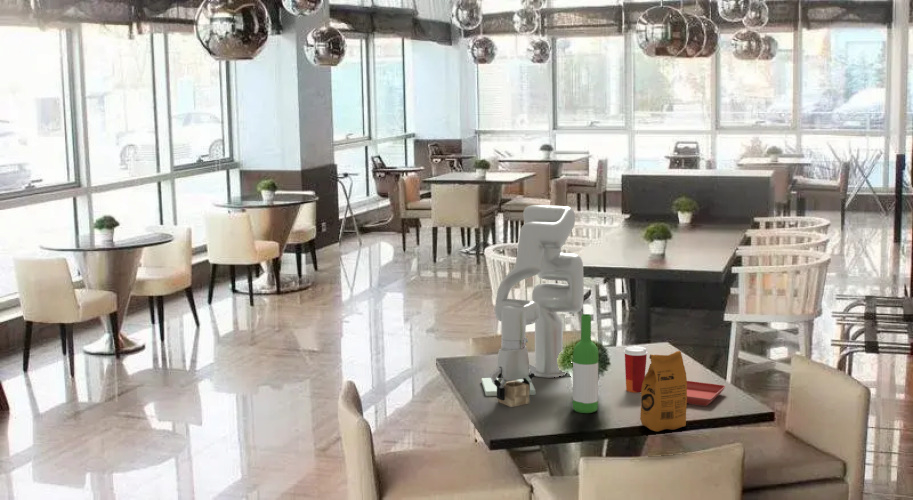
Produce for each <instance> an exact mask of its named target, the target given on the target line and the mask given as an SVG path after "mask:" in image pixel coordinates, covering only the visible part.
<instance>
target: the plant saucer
mask: <svg viewBox="0 0 913 500" xmlns="http://www.w3.org/2000/svg"><path fill="white" fill-rule="evenodd" d="M725 388H726V385H724V384H716V383H707V382H699V381H693V380H691V381H690V380H687V403H689V404H688V405H694V404H695V405H694V406H701V405H702V406H703V407H707V406H708V405H709V404H710V403H711V402H713V401H714V400H715V399H716V398H717V397H718V396H720V394H721V393H722V392H723V391H724V390H725Z"/></svg>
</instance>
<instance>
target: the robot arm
mask: <svg viewBox="0 0 913 500" xmlns="http://www.w3.org/2000/svg"><path fill="white" fill-rule="evenodd" d="M575 213H576V212H575V210H574V209H573V208H572V207H570V206H566V205H565V206H563V205H547V204H532V205H528V206H525V207H524V209H523V215H522V216H523V221H524V224H523V225H522V226H521V228H520V232H519V238H518V245H517V252H516V258H515V263H514V264H515V265H514V267H513V269H511V271H510V272H508V273H507V274H506V275H505V276H504V278H503V279H502V280H501V282H500V283H499V286H498V288H497V292H496V297H495V298H496V299H495V305H494V315H495V318H496V319H497V320H498V321H499V322H501V347H500V348H498V353H497V359H496V369H495V370H494V371H493V372H492V373H491V374H490V375H489V378H491V380H492V382H493V383H494V384H495V386H496V387H497V396H496V398H497V400H498V399H500V400H505V388H503V386H504V385H505V383H506V382H507V381H513V380H518V379H523V380H524V381H522V382H523V383H525V384H528V385H529V391H530V383H531V382H532V381H533V378H534V377H537V378H543V379H544V378H545V379H546V378H548V379H551V378H552V379H553V378H554V377H555V378H560V377H559V376H561V377H563V376H562V375H564V374H565V372H562V371H561V370H559V368H558V364H557V358H558V355H559V353H560V352H561V351H562V352H563V340H564V338H563V332H564V331H563V329H564V328H563V326H564V325H563V321H562V319H561V316H559V314H558V313H568V314H569V313H571V314H572V313H573V314H574V313H575V314H576V313H579V312H581V311H582V309H583V306H584V299H585V298H584V295H585V294H584V293H585V292H584V262H583V259H582V257H581V256H580V255H578V254H576V253H570V252H569V253H568V252H563V251H562V248H563V247H564V245H565V243H566V242H567V241H568V237H569V236H570V235H571V233H572V231H573V229H574V227H575V223H576V214H575ZM535 276H537V277H538V278H540V280H545V281H546V280H547V281H554V283H553V282H551V283H550V282H543V283H538V284H537V285H535V286H534V287H533V289H532V293H531V294H532V297H531V298H532V300H528V299H518V298H517V299H516V298H515V299H514V298H513V299H512V298H509V294H510V291H511V290H512V289H513V288H514V286H515V285H516V284H518V283H520V282H521V281H524V280H526V279H528V278H532V277H535ZM555 281H556V282H557V281H558V282H567V284H565V283H555ZM533 324H534V365H532V364H530V357H529V352H528V351H529V350H528V347H527V346H526V345H527V344H526V343H528V342H529V339H528V338H527V335H526V326H527V325H533ZM564 376H565V375H564ZM497 378H498V380H497ZM555 378H554V379H555ZM501 381H502V382H501Z"/></svg>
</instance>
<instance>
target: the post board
mask: <svg viewBox="0 0 913 500" xmlns="http://www.w3.org/2000/svg"><path fill="white" fill-rule="evenodd" d="M496 378H497V377H496ZM497 380H498V378H497ZM517 381H520V382H522V381H524V380H523V379H518V380H517ZM501 382H502V381H501ZM507 382H508V381H507ZM481 384H482V388H483V391H484V394H485V396H486V397H494V396H495V397H497V387H496V386H495V384H494V383H493V382H492V380H491V378H490V377H482V378H481ZM534 395H536V389H535V386H534V384H533V382H532V381H531V383H530V391H529V396H534Z"/></svg>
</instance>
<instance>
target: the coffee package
mask: <svg viewBox="0 0 913 500" xmlns="http://www.w3.org/2000/svg"><path fill="white" fill-rule="evenodd" d="M648 358H649V360H650V364H649V365H648V369H647V372H646V373H645V378H644V381H643V383H642V389H641V392H640V394H641V395H640V415H639V420H640V422H641V425H642V426H644V427H646V428H647V429H649V430H650V431H654V432H661V431H664V430H672V431H673V430H677V429H680V428H682V427H686V426H687V425H686V424H687V408H688V407H687V405H688V404H687V381H688V380H687V372H686V367H685V365H684V358H683V355H682V351H681V350H678V351H674V352H673V353H671V354H664V355H663V354H649V357H648Z"/></svg>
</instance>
